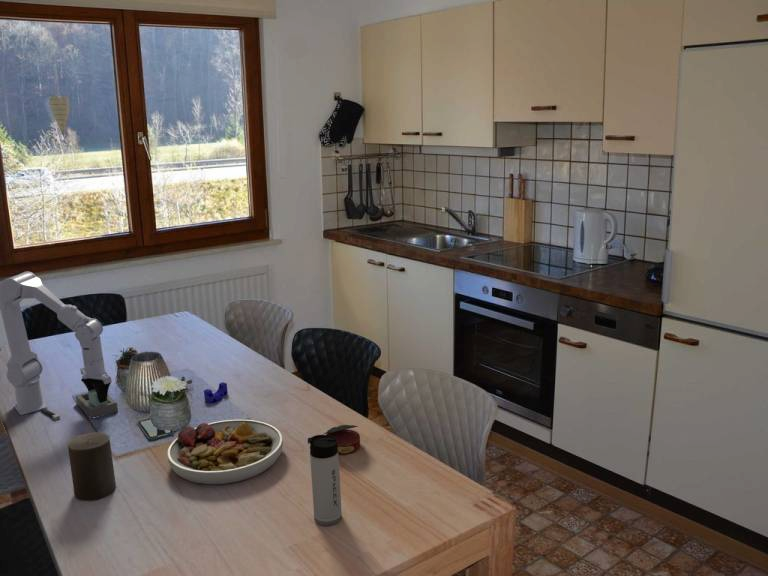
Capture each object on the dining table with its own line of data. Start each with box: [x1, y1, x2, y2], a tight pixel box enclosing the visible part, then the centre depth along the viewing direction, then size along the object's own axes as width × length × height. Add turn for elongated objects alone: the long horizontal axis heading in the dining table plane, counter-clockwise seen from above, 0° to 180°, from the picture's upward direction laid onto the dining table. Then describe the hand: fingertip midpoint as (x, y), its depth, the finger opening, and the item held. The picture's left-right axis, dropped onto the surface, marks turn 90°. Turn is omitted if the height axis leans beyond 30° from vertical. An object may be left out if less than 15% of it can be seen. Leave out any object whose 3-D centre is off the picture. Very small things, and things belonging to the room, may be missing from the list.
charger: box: [87, 389, 108, 408], centre depth 225 cm, size 4×4×5 cm
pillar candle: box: [67, 432, 117, 502], centre depth 178 cm, size 10×10×15 cm
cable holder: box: [203, 381, 229, 405], centre depth 233 cm, size 8×4×4 cm, turn 145°
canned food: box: [323, 424, 361, 456], centre depth 197 cm, size 11×10×10 cm
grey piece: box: [75, 391, 119, 419], centre depth 228 cm, size 15×8×3 cm, turn 39°
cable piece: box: [40, 408, 61, 421], centre depth 224 cm, size 10×1×1 cm, turn 49°
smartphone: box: [137, 417, 175, 442], centre depth 213 cm, size 7×1×15 cm
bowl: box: [166, 419, 284, 485], centre depth 192 cm, size 30×30×8 cm
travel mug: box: [307, 434, 343, 527], centre depth 162 cm, size 6×7×20 cm
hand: (99, 399), depth 225 cm, fingers closed on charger, 4 cm apart
